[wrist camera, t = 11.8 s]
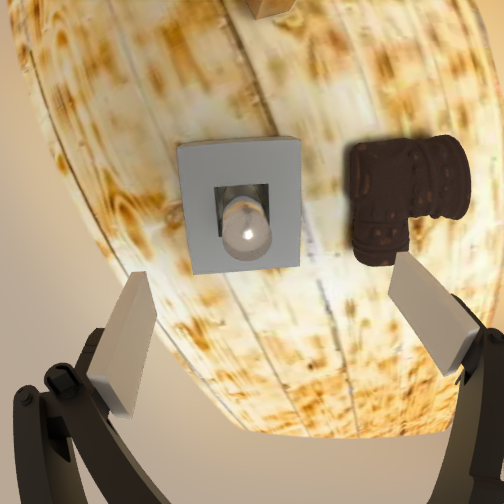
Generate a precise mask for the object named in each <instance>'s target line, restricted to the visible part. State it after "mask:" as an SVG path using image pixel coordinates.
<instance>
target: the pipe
mask: <svg viewBox="0 0 504 504" xmlns="http://www.w3.org/2000/svg"><path fill="white" fill-rule="evenodd" d="M350 198H351V200H352V201H353V203H354V204H355V206H356V213H355V215H354V216H355V219H354V220H353V228H354V233H353V235H352V236H353V240H352V245H353V247H354V248H353V251H354V255H355V257H356V259H357V260H358V261H359V262H360V263H362V264H365V265H367V266H372V267H377V266H391V265H394V264H395V260H396V255H397V252H407V251H408V250H409V241H410V239H409V229H408V218H409V217H414V218H417V217H419V216H427V215H430V217H431V218H433V219H438V218H439V217H440V216H443V217H445V218H451V219H453V220H459V219H461V218H462V217H463V216H464V215H465V214H466V212H467V210H468V207H469V203H470V198H471V175H470V168H469V163H468V160H467V157H466V154H465V152H464V149H463V148H462V146H461V145H460V143H459V141H457V140H456V139H455V138H454V137H452V136H450V135H440V136H434V137H432V138H429V139H425V140H412V139H406V138H400V139H393V140H387V141H381V142H371V143H359V144H357V145H356V146H355V147H354V148H353V149H352V150H351V152H350Z"/></svg>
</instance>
